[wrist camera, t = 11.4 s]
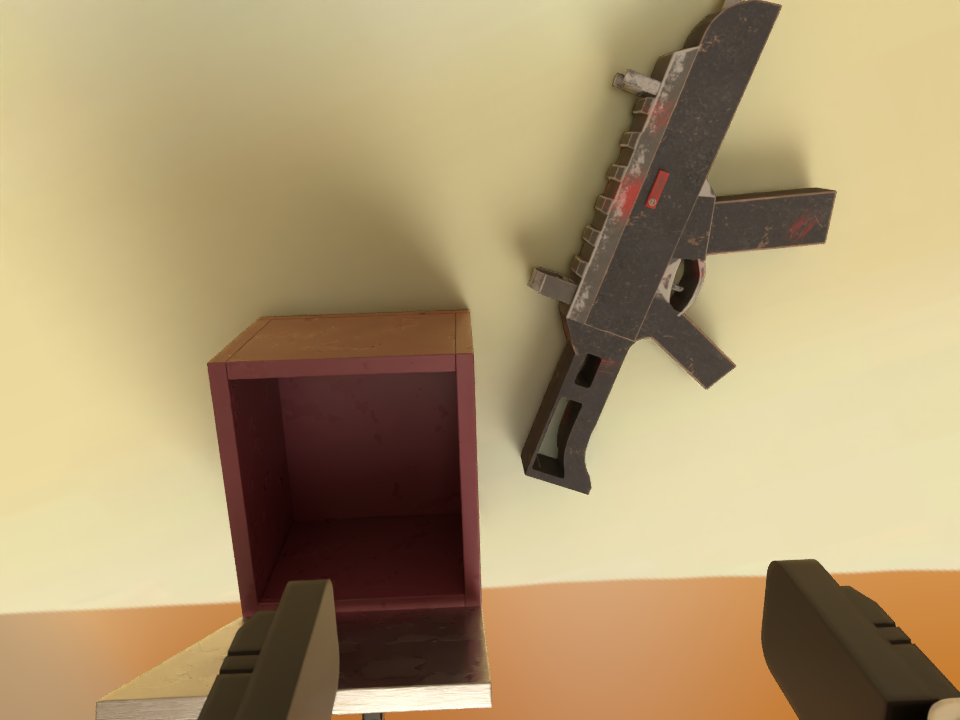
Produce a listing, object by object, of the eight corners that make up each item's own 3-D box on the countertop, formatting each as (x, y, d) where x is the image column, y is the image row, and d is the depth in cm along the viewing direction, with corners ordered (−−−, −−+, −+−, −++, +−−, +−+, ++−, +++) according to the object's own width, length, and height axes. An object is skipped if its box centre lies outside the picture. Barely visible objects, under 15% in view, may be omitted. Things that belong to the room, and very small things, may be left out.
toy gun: (672, 502, 49) (464, 435, 47) (904, 25, 40) (663, -82, 38) (689, 528, 46) (465, 458, 44) (944, 16, 37) (683, -102, 35)
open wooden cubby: (260, 316, 44) (206, 363, 35) (469, 309, 44) (473, 353, 35) (284, 526, 48) (242, 619, 39) (476, 518, 48) (481, 608, 39)
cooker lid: (95, 700, 23) (86, 892, 22) (491, 681, 24) (498, 871, 23) (240, 616, 38) (238, 729, 37) (481, 605, 38) (486, 717, 38)
